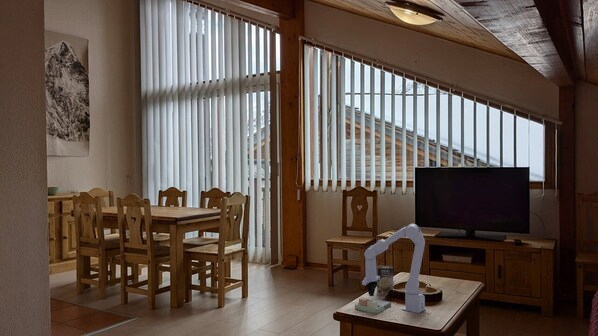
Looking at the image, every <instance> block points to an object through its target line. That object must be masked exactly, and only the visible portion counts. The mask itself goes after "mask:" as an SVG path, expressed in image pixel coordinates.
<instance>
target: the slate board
mask: <svg viewBox="0 0 598 336" xmlns="http://www.w3.org/2000/svg"><path fill="white" fill-rule="evenodd" d="M369 300H374V301H378V308H379V307H381V306H383V305H384V310H387V309H388V308H390V307H392V302H390V301H386V300H382V299H381V300H380V299H376V298H371V299H369Z"/></svg>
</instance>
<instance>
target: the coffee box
mask: <svg viewBox="0 0 598 336" xmlns="http://www.w3.org/2000/svg"><path fill="white" fill-rule="evenodd" d="M376 276H380V280H377V281H376V282H378V284H377V286H376V295H377V297H388V296H387V295H388V292H389V291H390V290H393V291H394V267H393V266H392V265H376Z"/></svg>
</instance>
